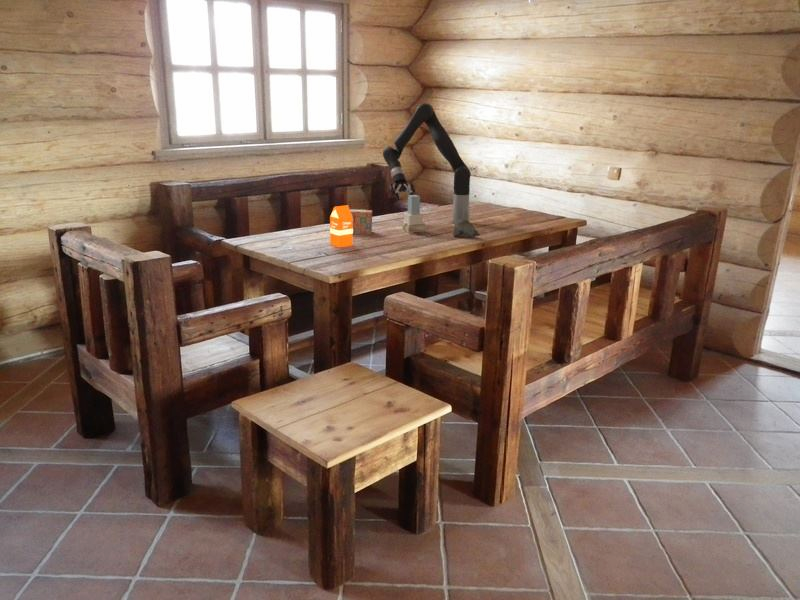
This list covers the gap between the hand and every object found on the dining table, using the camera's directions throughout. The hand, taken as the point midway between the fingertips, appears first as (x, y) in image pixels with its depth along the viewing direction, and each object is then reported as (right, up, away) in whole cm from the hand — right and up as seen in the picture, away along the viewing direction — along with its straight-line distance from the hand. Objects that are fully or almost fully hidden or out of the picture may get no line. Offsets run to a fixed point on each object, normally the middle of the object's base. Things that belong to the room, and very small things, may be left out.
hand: (405, 199), depth 390 cm
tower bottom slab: (+4, -19, -6) cm, 20 cm away
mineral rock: (+33, -24, -19) cm, 45 cm away
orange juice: (-33, -29, -41) cm, 60 cm away
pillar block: (+4, -9, -9) cm, 14 cm away
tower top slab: (+4, -14, -8) cm, 17 cm away
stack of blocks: (-29, -20, -12) cm, 38 cm away
